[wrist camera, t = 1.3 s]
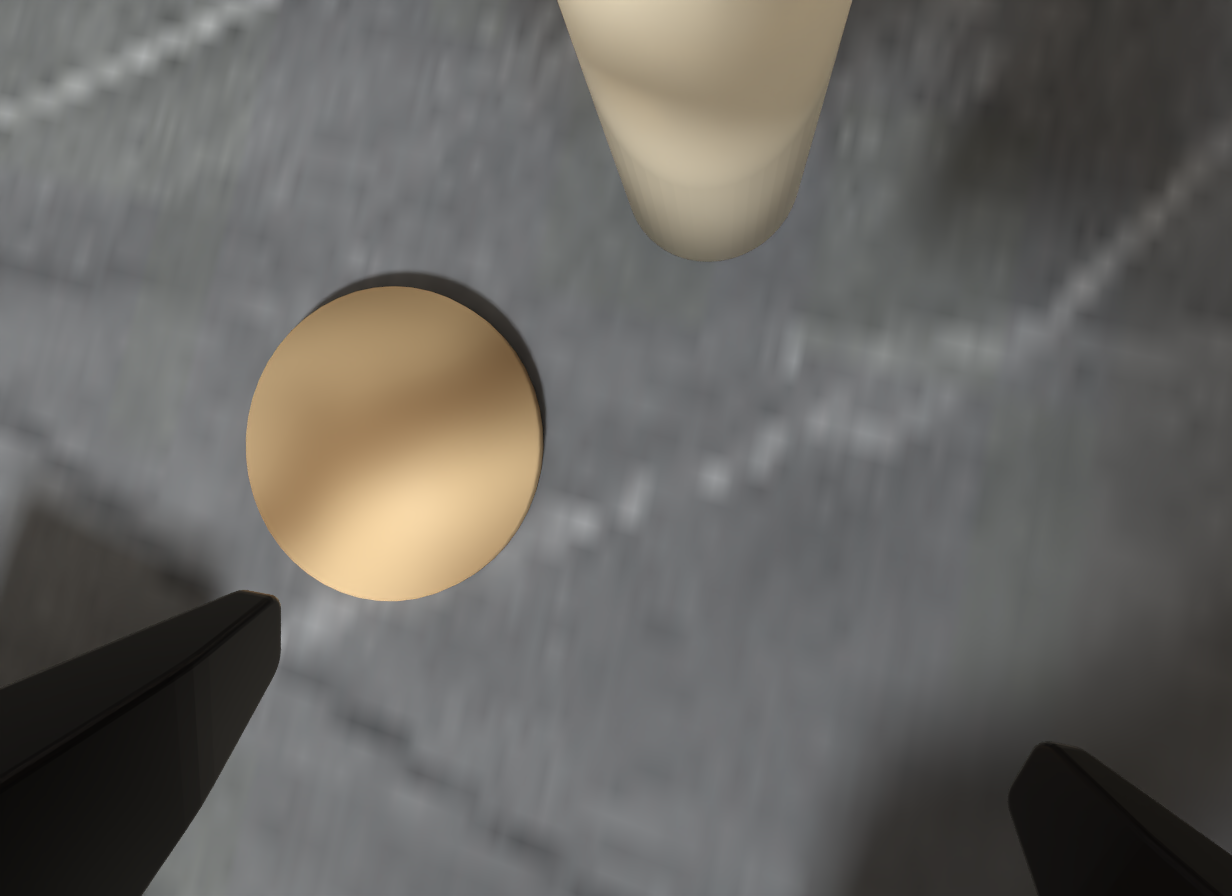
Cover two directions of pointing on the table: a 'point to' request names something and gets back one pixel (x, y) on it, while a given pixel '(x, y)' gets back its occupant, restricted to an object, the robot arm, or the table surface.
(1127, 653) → the table surface
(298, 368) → the cork coaster
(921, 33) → the table surface
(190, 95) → the table surface
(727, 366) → the table surface
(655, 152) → the cream glossy rounded body
